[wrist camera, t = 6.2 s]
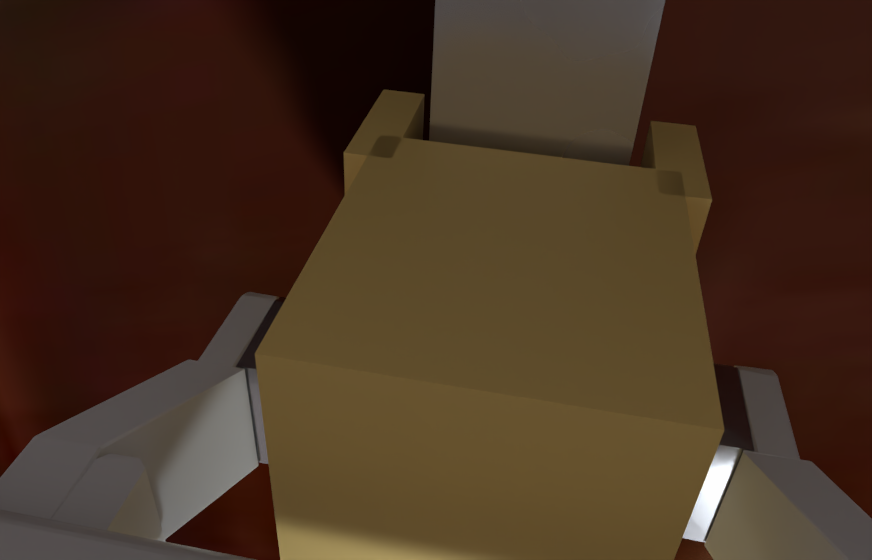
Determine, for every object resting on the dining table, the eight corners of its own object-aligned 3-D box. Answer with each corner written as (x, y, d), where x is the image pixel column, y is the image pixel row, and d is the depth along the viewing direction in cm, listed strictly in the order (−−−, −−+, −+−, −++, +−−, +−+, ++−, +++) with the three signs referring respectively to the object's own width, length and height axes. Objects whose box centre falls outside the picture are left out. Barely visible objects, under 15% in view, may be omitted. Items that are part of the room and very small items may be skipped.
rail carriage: (632, 359, 15) (646, 704, 10) (382, 320, 16) (264, 625, 10) (696, 126, 12) (764, 436, 7) (383, 89, 13) (220, 348, 7)
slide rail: (560, 581, 22) (553, 722, 19) (394, 549, 23) (360, 681, 20) (818, -443, 9) (926, -534, 6) (419, -455, 10) (329, -543, 7)
